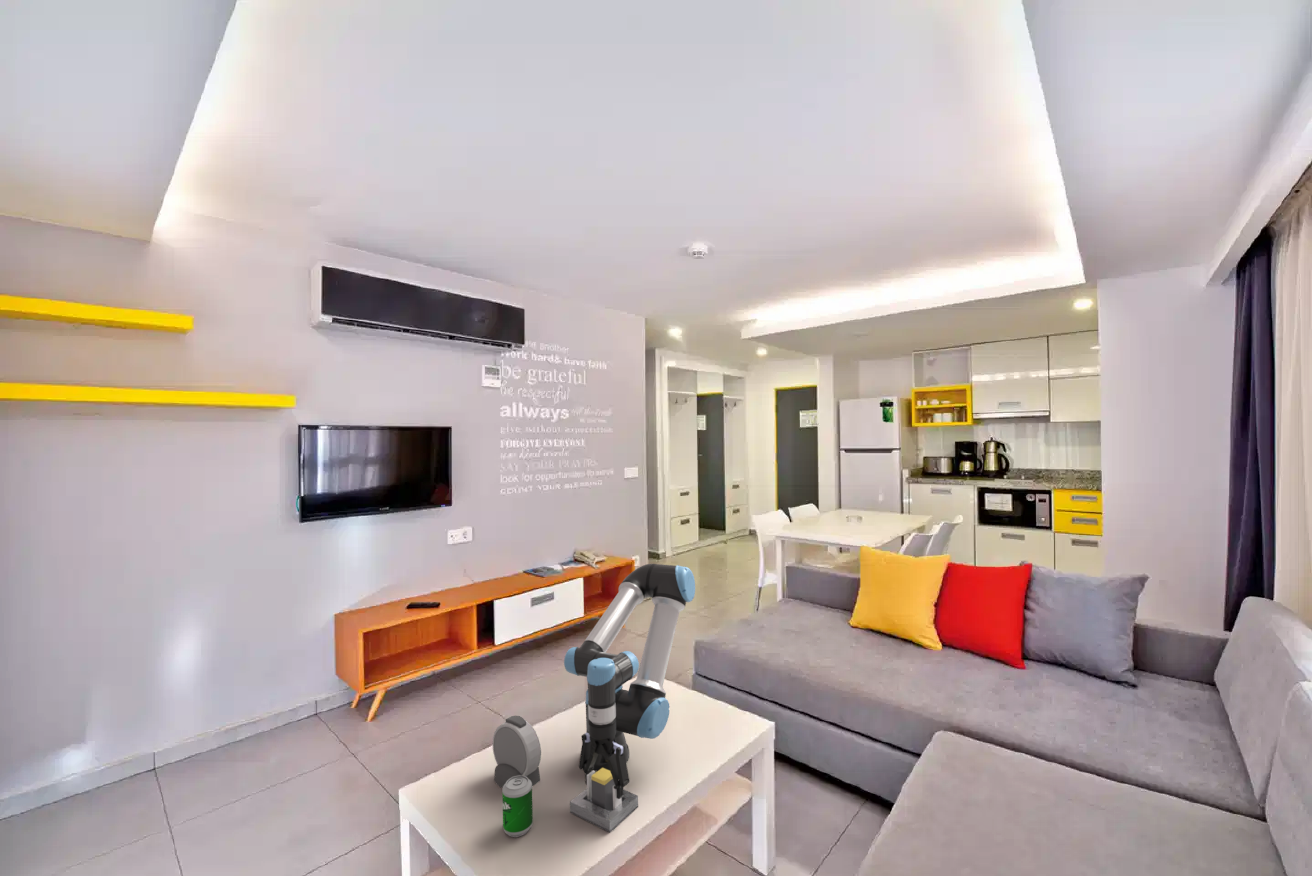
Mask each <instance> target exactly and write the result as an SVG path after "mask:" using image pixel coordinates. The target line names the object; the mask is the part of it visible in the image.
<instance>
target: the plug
mask: <svg viewBox="0 0 1312 876" xmlns="http://www.w3.org/2000/svg"><path fill="white" fill-rule="evenodd" d="M591 782H592V803H593V804H595V805H597V806H599V807H601V808H603V809H605V810H607V811H609V812H610V811H611V810H612V809H613V786H614V785H615V783H614V780H613V777H612V774H611V772H610V770H607V769H605V768H601V769H600V770H599V771H595V774H593V775H592V776H591Z"/></svg>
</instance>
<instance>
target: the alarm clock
mask: <svg viewBox="0 0 1312 876" xmlns="http://www.w3.org/2000/svg"><path fill="white" fill-rule="evenodd" d="M539 738H540V737H539V736H538V734H537V731H536V730H535V727H533V725H532V724H530V722H528V721H527V720H526V719H525V718H523V717H522V716H520V715H512V716H509V717H508V718H506V719H505V722H503V723H502V724H501V723H500V725H498V726H497V727H496V729H495V730H494V732H493V736H492V751H493V752H492V753H493V757H494V760H495V762H496V766H495V768H494V775H493V776H494V777H493V778H494V779H493V781H494V782H495V784H496V785H497V786H498V787H499V788H501V789H503V786H504V784H505V783H506V782H507V780H509V779H510V778H512V777H514V776H519V775H520V776H526V777H527V778H528V779H529V780H531V782H532V787H534V786H535V785H536V784H538V783H539V782H541V777H540V763H541V759H542V758H541V757H542V749H541V742H540V739H539Z"/></svg>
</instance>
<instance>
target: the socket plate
mask: <svg viewBox="0 0 1312 876" xmlns="http://www.w3.org/2000/svg"><path fill="white" fill-rule="evenodd" d="M569 808H570V809H569V811H570V812H569V813H570V814H572V815H574V816H576V817H577V818H580V819H582V820H584V821H586V822H587V823H589V824H592V825H593V826H596V827H597V828H599V829H602V830H604V831H606V832H608V833H611V832H613V831H614V830H615V829H616V828H617V827H618V826H619V825H620V824H622V822H623V821H625V820H626V819H627V818H628V817H629V816H630V815H631V814H632V813H633V812H635V810H637V808H639V795H637V794H635V793H633V792H630V791H628V790H626V789H624V788H623V797H622V803H621V804H619V805H618V806H617V807H616V808H615V809H612V810H611V811H610V812H609V811H607V810H605V809H603V808H601V807H599V806H597V805H595V804H593V803H592V798H591V799H590V800H588V799H587V788H586V789H584V790H583V791H581V792H580V793H579V794H578V795H577V796H575V797H574V798H573V799H571V800H570V801H569Z"/></svg>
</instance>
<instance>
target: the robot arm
mask: <svg viewBox="0 0 1312 876" xmlns="http://www.w3.org/2000/svg"><path fill="white" fill-rule="evenodd" d="M695 595H696V581H695V576H694V573H693V571H692V570H691V569H690V568H689V567H687V566H681V565H679V564H677V565H673V564H663V563H662V564H661V563H659V564H658V563H648V564H644V565H641V566H640V567H637V568H635V569H634V570H633V571H632V572H631V573H629V574H628V575H626V576H625V578H624V579H623V580H622V581H621V583H620V584H619V586H618V593H617V594H616V595H615V597H614V598H613V600H612V601H611V602H610V604H609V605H608V607H607V608H606V609H605V611H604V612H603V614H602V616H601V617H600V618H599V620H598V621H597V622H596V624H595V625H594V627H593V628H592V630H591V631H590V632H589V634H588V636H587V637H586V638H585V640H584V641H583V642H582V644H581V645H580V646H575V647H574V646H572V647H571V648H569V649H568V650H567V651H566V653H565V656H564V660H563V665H564V669H565V671H566V672H567V673H568V674H572V675H575V676H579V677H580V676H581V677H586V681H587V689H586V692H585V719H586V720H585V721H586V722H585V723H586V724H585V725H586V726H585V727H586V732H584V733H583V734H581V748H580V750H581V751H580V758H579V764H578V767H579V770H583V773H584V779H585V780H584V782H585V785H586V789H587V799H588V800H590V799H591V798H592V782H591V776H592V775H593V774H595V773H596V772H597V771H599V770H600V769H601V768H605V769H607V770H610V772H611V774H612V777H613V780H614V783H615V785H614V786H613V809H615V808H616V807H617V806H618V805H619V804H621V803H622V797H623V789H624V787H625V786H627V784H629V783H630V777H629V771H628V765H627V763H628V761H629V759H630V748H629V747H630V746H629V745H628V742H627V739H626V736H625V734H629V735H632V736H637V737H638V738H641V739H642V738H643V739H644V738H645V739H648V740H649V739H650V740H651V739H656V738H658V737H659V736H660V735H661V734H662V732H664V730H665V728H666V725H667V724H668V721H669V717H670V707H671V706H670V703H669V701H668V699H667V698H666V694H667V692H666V691H665V688H664V684H665V683H664V682H665V677H666V674H667V673H666V672H667V668H668V664H669V660H670V655H671V651H672V646H673V643H674V638H675V633H676V630H677V624H678V619H679V615H680V613H681V612H682V611H684V610H685V609H686V604H687V603H691V602H692V601H693V599H694V598H695ZM648 598H651V601H652V603H653V605H654V609H653V612H652V616H651V620H650V624H649V628H648V632H647V635H646V640H645V643H644V648H643V652H642V657H641V660H640V664H639V658H638V657H637V656H636V655H635V653H634V652H632V651H629V650H624V651H621V652H619V653H618V654H615V653H611V652H607V651H608V650H609V648H610V647H611V645H612V644H613V642H614V641H615V639H616V637H617V636H618V635H619V633H620V632H621V630H622V628H623V627H624V625H625V624H626V622H627V620H628V619H629V618H630V616H631V614H632V613H633V611H634V609H635V608H636V607H637V605H641V604H642V603H643V601H644V600H645V599H648ZM635 675H637V676H636V679H635V680H634V681H632V682H630V685H629V688H628V689H627V690H626V689H623V685H624V684H626V683H627V682H628V681H630V680H632V678H633V677H634V676H635Z"/></svg>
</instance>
